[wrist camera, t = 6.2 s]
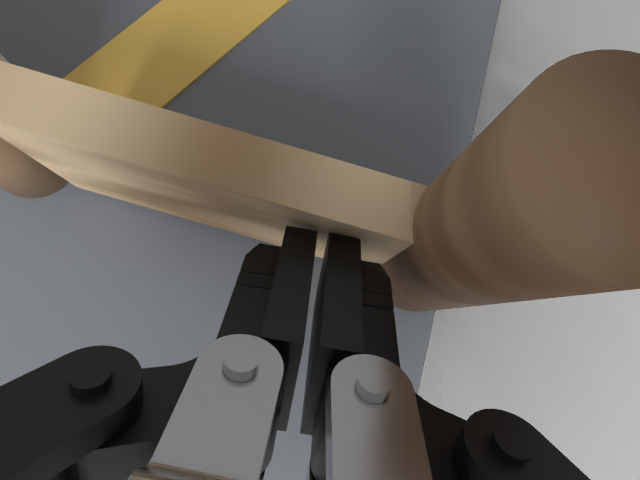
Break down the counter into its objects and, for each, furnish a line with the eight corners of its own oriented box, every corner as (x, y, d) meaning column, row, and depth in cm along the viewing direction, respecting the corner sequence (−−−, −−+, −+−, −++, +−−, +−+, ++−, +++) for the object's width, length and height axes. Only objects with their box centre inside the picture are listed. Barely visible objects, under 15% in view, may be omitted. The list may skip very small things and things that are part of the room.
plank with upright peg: (66, 212, 14) (-338, 6, 5) (101, 126, 14) (-206, -200, 5) (449, 323, 14) (732, 318, 5) (469, 233, 14) (757, 88, 6)
